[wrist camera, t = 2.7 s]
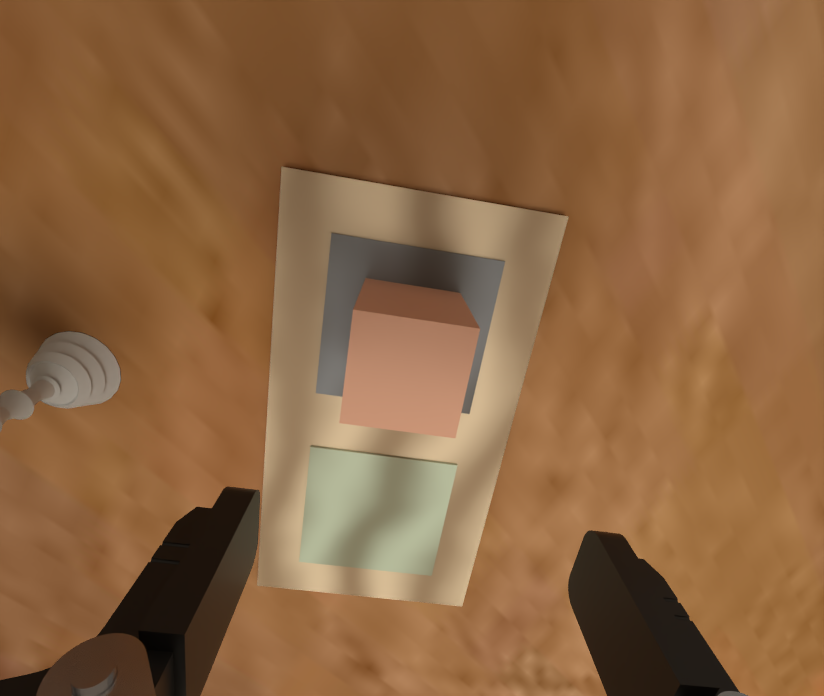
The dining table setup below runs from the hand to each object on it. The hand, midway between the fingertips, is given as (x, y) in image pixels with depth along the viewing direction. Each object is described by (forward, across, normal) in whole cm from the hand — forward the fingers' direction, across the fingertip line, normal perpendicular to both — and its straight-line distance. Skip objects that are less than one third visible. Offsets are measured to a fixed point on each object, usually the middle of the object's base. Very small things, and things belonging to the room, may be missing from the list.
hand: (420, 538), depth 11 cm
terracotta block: (+17, 0, 0) cm, 17 cm away
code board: (+18, 0, +7) cm, 19 cm away
